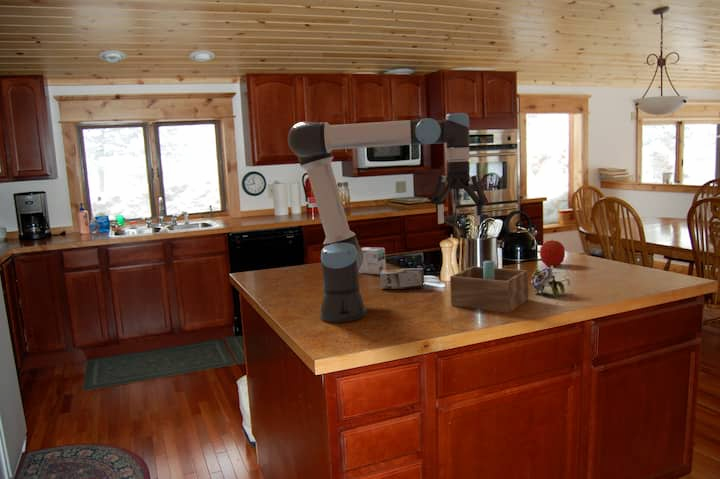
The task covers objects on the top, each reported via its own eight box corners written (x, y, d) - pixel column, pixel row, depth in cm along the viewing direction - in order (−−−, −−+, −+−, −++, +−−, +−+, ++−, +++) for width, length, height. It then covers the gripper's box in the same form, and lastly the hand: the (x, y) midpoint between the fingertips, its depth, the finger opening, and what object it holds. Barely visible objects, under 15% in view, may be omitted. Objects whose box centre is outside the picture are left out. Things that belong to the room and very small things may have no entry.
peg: (492, 304, 184) (491, 263, 182) (482, 303, 187) (481, 262, 184) (497, 301, 187) (495, 261, 185) (487, 300, 189) (485, 260, 187)
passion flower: (538, 309, 194) (522, 279, 198) (564, 299, 196) (548, 270, 201) (550, 298, 184) (533, 267, 188) (578, 288, 186) (560, 257, 191)
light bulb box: (386, 271, 246) (385, 247, 244) (379, 274, 240) (377, 250, 239) (366, 270, 252) (364, 246, 250) (358, 273, 246) (356, 249, 245)
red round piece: (568, 267, 230) (568, 240, 229) (544, 268, 231) (544, 241, 229) (560, 262, 240) (560, 236, 239) (537, 264, 241) (536, 237, 239)
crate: (508, 312, 174) (507, 281, 173) (451, 305, 186) (450, 276, 185) (528, 299, 187) (527, 270, 186) (473, 293, 200) (472, 266, 198)
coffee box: (380, 289, 214) (422, 289, 210) (379, 273, 213) (421, 272, 209) (384, 284, 222) (424, 283, 219) (383, 268, 222) (423, 267, 218)
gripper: (498, 159, 179) (498, 224, 183) (431, 161, 195) (432, 221, 198) (487, 160, 173) (488, 227, 177) (419, 162, 189) (421, 223, 192)
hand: (458, 224), depth 187 cm, fingers open, 13 cm apart
